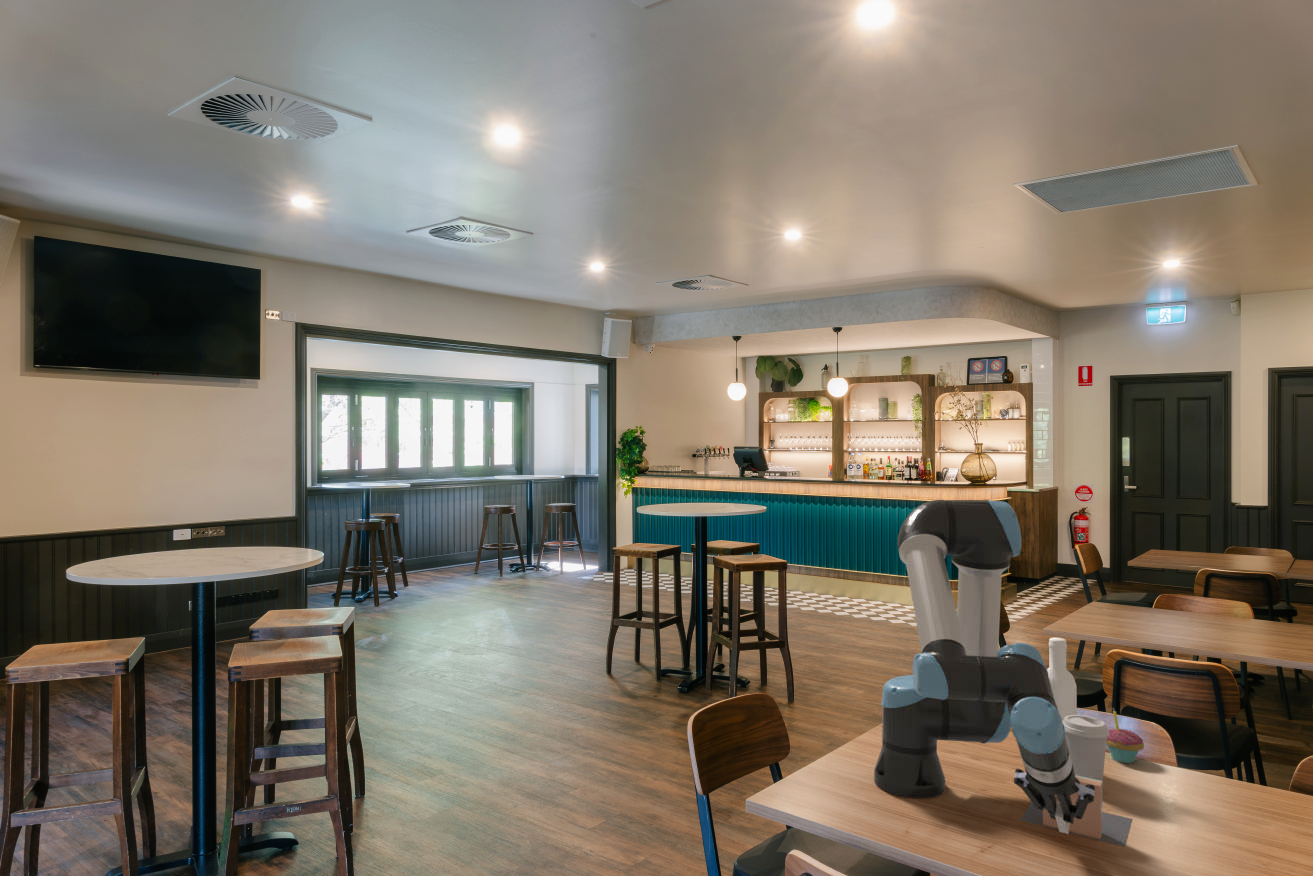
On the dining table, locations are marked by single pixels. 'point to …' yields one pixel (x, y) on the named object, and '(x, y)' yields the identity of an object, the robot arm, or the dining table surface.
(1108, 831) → the mat
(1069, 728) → the coffee cup
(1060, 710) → the bottle
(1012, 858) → the dining table surface
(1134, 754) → the cupcake
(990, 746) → the dining table surface
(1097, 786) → the tile
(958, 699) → the robot arm
